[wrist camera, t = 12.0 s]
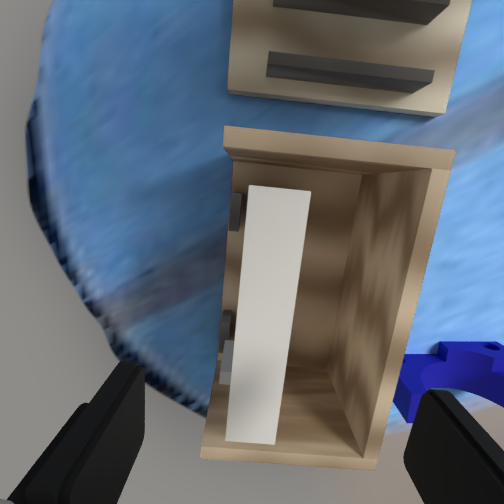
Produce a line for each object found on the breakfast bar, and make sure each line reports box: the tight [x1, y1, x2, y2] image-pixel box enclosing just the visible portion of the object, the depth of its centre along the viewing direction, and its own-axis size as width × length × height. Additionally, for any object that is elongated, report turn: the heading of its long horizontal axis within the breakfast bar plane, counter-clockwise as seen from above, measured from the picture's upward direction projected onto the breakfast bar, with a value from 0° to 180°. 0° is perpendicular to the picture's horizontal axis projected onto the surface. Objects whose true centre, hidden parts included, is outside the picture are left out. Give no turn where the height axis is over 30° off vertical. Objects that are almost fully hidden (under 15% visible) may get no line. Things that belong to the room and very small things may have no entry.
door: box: [219, 185, 311, 445], centre depth 21 cm, size 15×4×11 cm, turn 174°
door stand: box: [227, 0, 472, 117], centre depth 21 cm, size 8×18×4 cm, turn 84°
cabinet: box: [200, 125, 456, 471], centre depth 22 cm, size 21×12×11 cm, turn 174°
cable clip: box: [393, 342, 504, 423], centre depth 27 cm, size 12×4×6 cm, turn 90°
